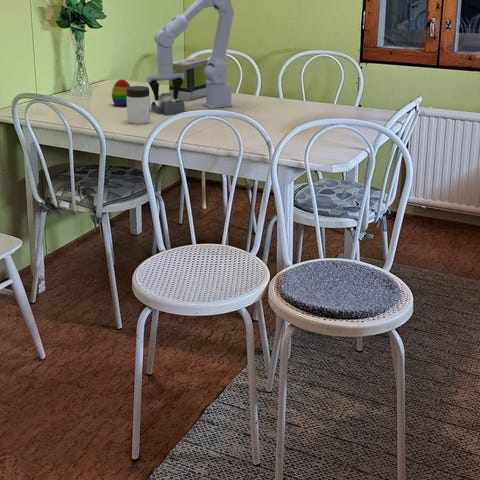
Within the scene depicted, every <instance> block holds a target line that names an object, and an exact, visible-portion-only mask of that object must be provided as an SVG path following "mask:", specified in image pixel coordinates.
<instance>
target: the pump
mask: <svg viewBox="0 0 480 480" xmlns="http://www.w3.org/2000/svg"><path fill="white" fill-rule="evenodd" d="M169 99H173V95H171V94H170V93H169V92H162V93H160V94H159V101H158V106H160V107H162V102H164V101H169Z"/></svg>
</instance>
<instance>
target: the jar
mask: <svg viewBox="0 0 480 480" xmlns="http://www.w3.org/2000/svg"><path fill="white" fill-rule="evenodd" d="M130 86H131V85H130ZM126 95H127V97H126V98H127V106H126V118H127V119H126V120H127V123H128V124H135V125H140V124H141V125H142V124H148V123H150V121H151V101H150V87H148V86H145V85H144V86H143V85H133V86H131V87H127V88H126Z"/></svg>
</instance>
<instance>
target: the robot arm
mask: <svg viewBox="0 0 480 480" xmlns="http://www.w3.org/2000/svg"><path fill="white" fill-rule="evenodd" d="M207 8H213V9H214V10H215V11H216V12H217V14H218V19H217V25H216V30H215V35H214V41H213V44H212V45H213V46H212V52H211V56H210V57H209V58H208V59H207V60H208V64H207V66H206V67H205V69H204V75H205V77H206V78H207V81H206V96H205V98H206V99H205V100H206V101H205V102H202V106H205V107H207V108H209V109H216V108H226V107H233V104H232V86H231V84H230V82H228V81H226V80H227V79H228V78H227V77H228V72H227V66H228V65H227V61H226V56H227V50H228V45H229V38H230V34H231V29H232V25H233V20H234V19H233V17H234V13H235V12H234V7H233V4H232V1H231V0H195V1H194V2H193V3H192V4H191V5H190V6H189V7H188V8H187V9H186V10H185V11H184V12H183V13H182V14H177V15H174V16H172V17H171V19H172V20H170V21H169V22H168V23H167V24H165V25H163V27H162V29H159V30H158V31H156V33H155V35H154V41H155V43H156V61H157V64H156V65H157V74H153V75H152V74H151V75H146V82H148V84H149V86H150V88H151V90H152V93H153V97H154V100H155V102H156V101H157V102H159V95H160V94H159V92H160V90H159V88H160V83H158V82H159V81H160V82H161V81H162V82H163V81H169V80H172V83H173V97H174V98H175V99H177V98H178V93H179V89H180V87H181V85H182V83H183V80H182V79H184V74H183V73H173V62H174V61H173V45H174V44H175V39H176V38H178V37H179V36H180V35H181V34H182V33H183V32H184V31H185V30H186V29H187V28H188V27H189V22H190V21H191V20H192V19H193V18H194V17H196V16H197V15H198V14H199V13H201V11H203V10H204V9H207ZM177 100H178V99H177Z"/></svg>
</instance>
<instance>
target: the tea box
mask: <svg viewBox="0 0 480 480" xmlns="http://www.w3.org/2000/svg"><path fill="white" fill-rule="evenodd" d="M208 60H209V59H205V58H204V59H203V58H197V57H189V58H183V59H179V60H175V61H173V73H183V74H184V79H182V80H183V83H182V85H181V87H180V89H179V93H178V98H177V100H178V99H179V100H183V101H184V102H185V101H187V102H189V101H192V100H195V99H199V98H203V97H206V81H207V78H206V77H205V75H204V69H205V67H206V66H207V64H208ZM168 87H169V88H168V89H169V91H168V93H170V94H171V95H173V83H172V80H168ZM173 99H175V98H174V97H173Z"/></svg>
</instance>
